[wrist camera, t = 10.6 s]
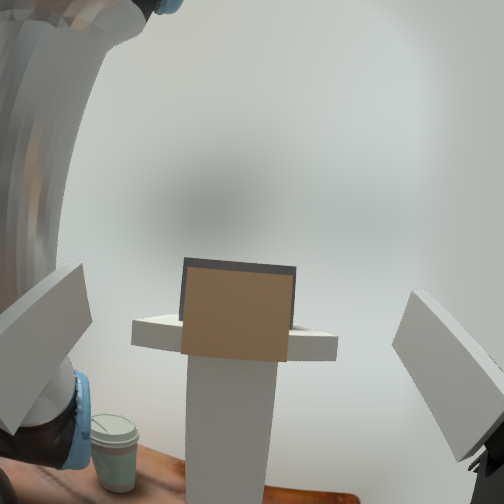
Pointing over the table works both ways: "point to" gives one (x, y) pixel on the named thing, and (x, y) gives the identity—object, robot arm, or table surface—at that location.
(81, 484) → the table surface
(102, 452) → the coffee cup
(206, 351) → the hammer
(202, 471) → the tall stand
